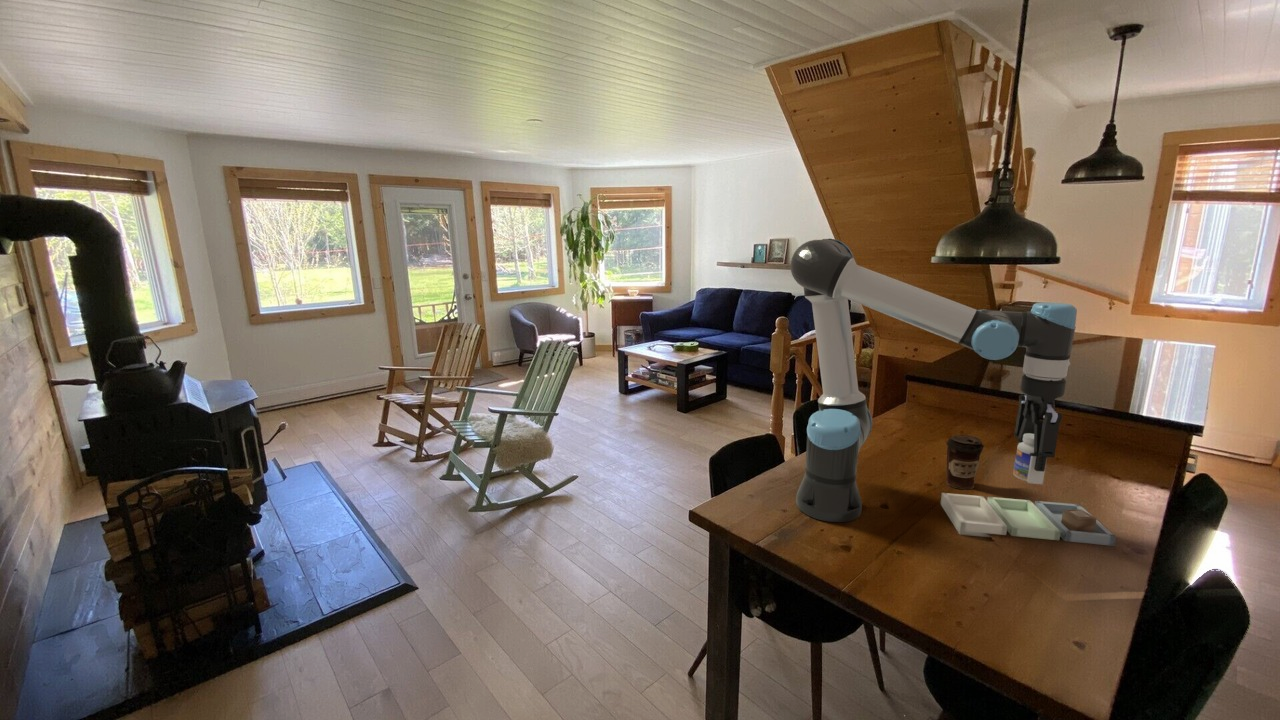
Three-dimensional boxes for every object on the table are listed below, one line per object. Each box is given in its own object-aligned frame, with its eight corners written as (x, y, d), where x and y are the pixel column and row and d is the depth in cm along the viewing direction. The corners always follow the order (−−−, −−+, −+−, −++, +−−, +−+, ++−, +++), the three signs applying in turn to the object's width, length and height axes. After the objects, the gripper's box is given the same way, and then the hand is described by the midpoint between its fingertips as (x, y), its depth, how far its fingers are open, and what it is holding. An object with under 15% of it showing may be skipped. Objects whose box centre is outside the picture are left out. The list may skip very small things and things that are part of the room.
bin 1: (959, 534, 117) (961, 522, 117) (940, 503, 131) (941, 492, 130) (1005, 539, 115) (1007, 526, 115) (981, 507, 129) (982, 496, 128)
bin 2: (1064, 545, 113) (1066, 532, 112) (1033, 512, 126) (1035, 500, 125) (1113, 550, 111) (1116, 537, 110) (1077, 516, 124) (1079, 504, 123)
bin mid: (1010, 539, 115) (1012, 527, 114) (985, 508, 128) (987, 496, 128) (1058, 544, 113) (1060, 531, 112) (1028, 511, 126) (1030, 500, 126)
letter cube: (1075, 536, 114) (1078, 518, 113) (1060, 526, 118) (1063, 509, 117) (1093, 535, 114) (1096, 518, 113) (1077, 525, 118) (1081, 509, 117)
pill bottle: (1007, 474, 120) (1012, 433, 117) (1024, 470, 121) (1030, 430, 119) (1030, 484, 115) (1037, 442, 112) (1048, 480, 116) (1055, 438, 114)
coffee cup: (984, 494, 135) (991, 446, 132) (948, 491, 137) (954, 444, 134) (970, 478, 143) (977, 433, 140) (937, 476, 145) (942, 432, 142)
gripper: (1089, 388, 103) (1069, 498, 108) (1043, 366, 120) (1028, 461, 126) (1045, 387, 105) (1028, 494, 110) (1005, 365, 122) (992, 459, 127)
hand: (1028, 476), depth 118 cm, fingers closed on pill bottle, 5 cm apart
